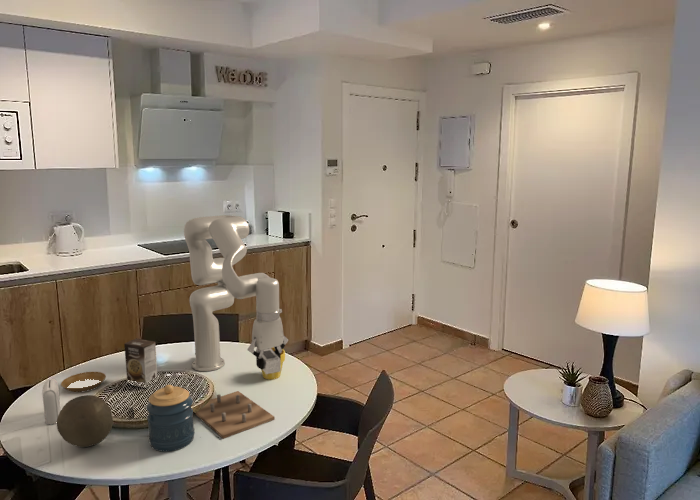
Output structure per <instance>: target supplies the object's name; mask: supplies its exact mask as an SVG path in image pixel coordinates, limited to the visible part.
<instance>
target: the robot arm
mask: <svg viewBox="0 0 700 500" xmlns="http://www.w3.org/2000/svg"><path fill="white" fill-rule="evenodd" d="M249 234H250V226H249V223H248V222H247V220H246V219H245V218H244V217H242V216H238V215H228V214H223V215H213V216H212V215H210V216H202V217H201V216H200V217H194V218H191V219H189V220H187V221H186V222H185V224H184V228H183V235H184V240H185V243H186V245H187V248H188V252H189V264H190V265H189V266H190V273H191V280H192V282H193V284H194V285H197V286H206V285H207V286H208V285H212V284H216V285H213V286H208V287H202V288H199V289H196V290H194V291H192V292H191V294H190V296H189V305H190V309H191V314H192V320H193V333H194V334H193V335H194V336H193V337H194V355H195V360H194V361H193V362H192V363H191V367H192V369H193V370H195V371H199V372H212V371H216V370H219V369H221V368H222V367H224V365H225V364H226V362H225V359H224V358H222V357H221V343H220V341H221V340H220V325H219V324H220V323H219V320H218V318H217V317H216V316H215V315H214V314H213V312H215V311H219V310H224V309H227V308H230V307H231V306H233V304H234V302H235V299H238V300H242V299H243V300H244V299H248V298H252V297H256V299H255V300H256V301H255V305H256V309H255V311H256V318H255V319H253V320H254V321H253V324H252V332H251V343H250V345H249V346H248V348H247V351H248V352H249V353H251V354H252V355H253V356H255V359H256V360H255V361H256V362H255V363H256V366H257V368H258V369H260V370H262V369H263V358H262V355H263V352H264V350H266V349H270V348H273V347H274V349H275V351H274V352H275V353H276V355H277V356H278V357H279V358H280V360H281V352H282V349H283V350H284V348H285V347H286V344H287V343H288V342H289V339H288V337H286V336H285V334H284V328H283V327H284V326H283V323H282V317H281V316H280V314H281V313H283V310H282V308H280V283H279V281H278V279H276V278H273V277H271V276H269V275H268V274H266V273H264V272H257V273H250V274H246V275H244V274H243V275H241V276H238V274H237V273H236V271H235V269H234V267H233V266H234V265H236V264H237V263H238V262H240V261H241V260H242V259H243V258H244V257H245V256H246V254H247V252H248V251H247V249H248V248H247V246H246V245H245V242H244V241H243V240H242V239H246V238H247V237H248V236H249ZM207 240H213V242H214V243H215V246H216V247H217V248H218V250H219V252H220V254H221V255H222V257H216V258H215V257H214V258H213V249H212V246H211V245H210V243H209V242H208V241H207ZM255 348H256V349H255Z"/></svg>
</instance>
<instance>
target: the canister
mask: <svg viewBox="0 0 700 500" xmlns="http://www.w3.org/2000/svg"><path fill="white" fill-rule="evenodd" d="M148 401H149V403H148V402H147V403H148V404H147V406H146V409H147V411H148V412H149V414H148V416H146V420H147V423H148V425H147V426H148V427H147V428H148V442H149V446H150V447H151V448H152V449H153V450H156V451H158V452H173V451H177V450H180V449H183V448H185V447H186V446H187V447H188V445H190V444H191V443H193V440H194V438H195V434H196V433H195V426H194V413H193V409H192V408H191V406H193V402H194V401H193V398H192V397H191V396H190V392H189V391H188V390H187V389H186V388H183V387H181V386H173V385H172V384H166V385H165V386H164V387H161V388H159V389H157V390H155V392H153V393H151V395H150V396H149V397H148Z"/></svg>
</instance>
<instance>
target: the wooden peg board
mask: <svg viewBox="0 0 700 500" xmlns="http://www.w3.org/2000/svg"><path fill="white" fill-rule="evenodd" d="M209 400H210V401H209V402H208V403H207V404H206V405H205V406H204V407H203V408H202V409H201V410H199V411H198V412H196V414H195V416H197V417H198V418H199V419H200V420H201V421H203V423H204V424H205V425H207V426H208V427H209V428H210V429H212V431H213V432H215V434H217V435H218V436H219V437H221V439H227V438H230V437H232V436H236V435H237V434H240V433H243V432H244V431H245V432H246V431H248V430H251V429H254V428H257V427H259V426H261V425H263V424H266V423H269V422H272V421H275V418H276V417H275V415H273V414H271V413H270V412H269V411H267V410H266V409H264V408H263V407H261V406H260V405H259V404H257V403H256V402H254V401H253V400H252V399H250V398H249V397H247V395H244V394H243V393H242V392H240V391H239V390H237V391H234V392H231V393H230V392H229V393H227V394H224V395H221V394H217V395H216V397H215V398H212V399H209Z"/></svg>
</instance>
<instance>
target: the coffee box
mask: <svg viewBox="0 0 700 500" xmlns="http://www.w3.org/2000/svg"><path fill="white" fill-rule="evenodd" d="M124 355H125V367H126V368H125V369H126V371H125V372H126V380H127V379H128V380H132V381H137V382H144V383H146V382H148V381H150V380H152V379H154V378H155V377H157V378H158V368H157V367H158V366H157V365H158V362H157V350H156V341H153V340H147V339H143V338H134V339H131V340H129V341H127V342H125V343H124Z"/></svg>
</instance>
